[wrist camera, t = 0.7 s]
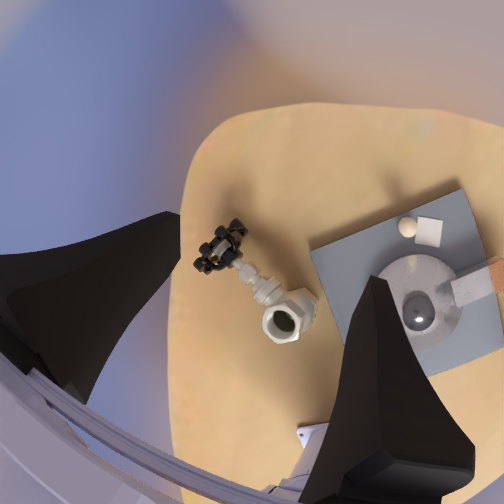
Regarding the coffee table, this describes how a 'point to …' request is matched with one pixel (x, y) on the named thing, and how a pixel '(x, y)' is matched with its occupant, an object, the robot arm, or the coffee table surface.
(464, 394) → the coffee table surface
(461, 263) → the board
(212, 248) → the valve
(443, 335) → the silver lidded pan
